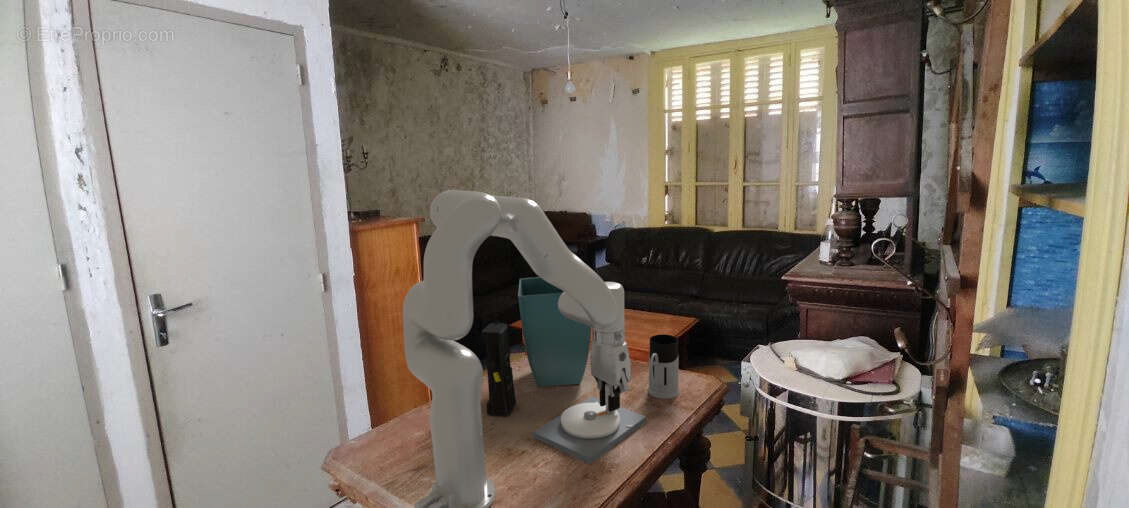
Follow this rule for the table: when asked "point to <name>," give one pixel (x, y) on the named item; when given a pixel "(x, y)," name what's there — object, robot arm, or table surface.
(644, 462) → the table surface
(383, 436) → the table surface
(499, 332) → the portable radio
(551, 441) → the stand
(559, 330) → the flower pot
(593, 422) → the white round dome
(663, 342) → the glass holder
